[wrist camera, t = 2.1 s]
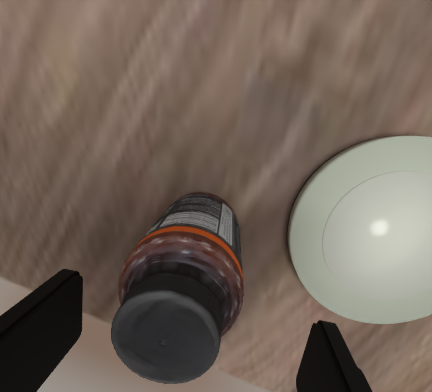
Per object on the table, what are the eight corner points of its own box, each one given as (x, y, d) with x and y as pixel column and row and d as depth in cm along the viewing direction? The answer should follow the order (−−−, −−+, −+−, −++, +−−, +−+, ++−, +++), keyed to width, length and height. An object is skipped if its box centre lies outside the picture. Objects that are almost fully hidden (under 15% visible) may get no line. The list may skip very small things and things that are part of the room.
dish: (343, 337, 21) (352, 353, 20) (251, 209, 19) (252, 216, 18) (514, 253, 18) (540, 264, 17) (429, 91, 16) (450, 87, 15)
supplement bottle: (225, 270, 21) (216, 427, 10) (156, 247, 20) (68, 380, 10) (250, 204, 19) (273, 303, 8) (176, 179, 19) (98, 245, 8)
